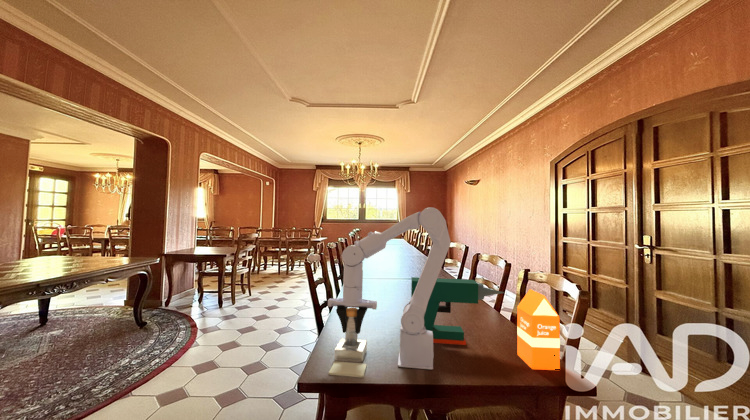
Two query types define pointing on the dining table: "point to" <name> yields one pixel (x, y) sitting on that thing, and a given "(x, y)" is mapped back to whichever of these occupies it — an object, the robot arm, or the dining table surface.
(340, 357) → the block
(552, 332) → the orange juice
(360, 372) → the key mat
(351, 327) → the orange capped bottle
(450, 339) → the power tool
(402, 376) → the dining table surface
